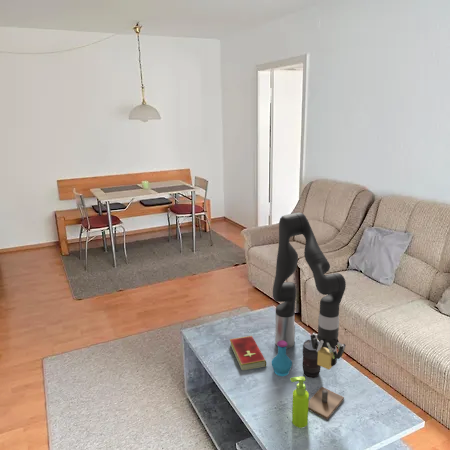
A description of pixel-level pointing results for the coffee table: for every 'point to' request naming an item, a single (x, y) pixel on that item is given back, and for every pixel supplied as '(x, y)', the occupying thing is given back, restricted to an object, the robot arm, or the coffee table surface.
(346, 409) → the coffee table surface
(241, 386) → the coffee table surface
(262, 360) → the hardcover book
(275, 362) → the perfume bottle
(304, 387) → the soap dispenser
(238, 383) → the coffee table surface
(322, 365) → the tan wooden block
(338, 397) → the post board
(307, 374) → the camera lens
